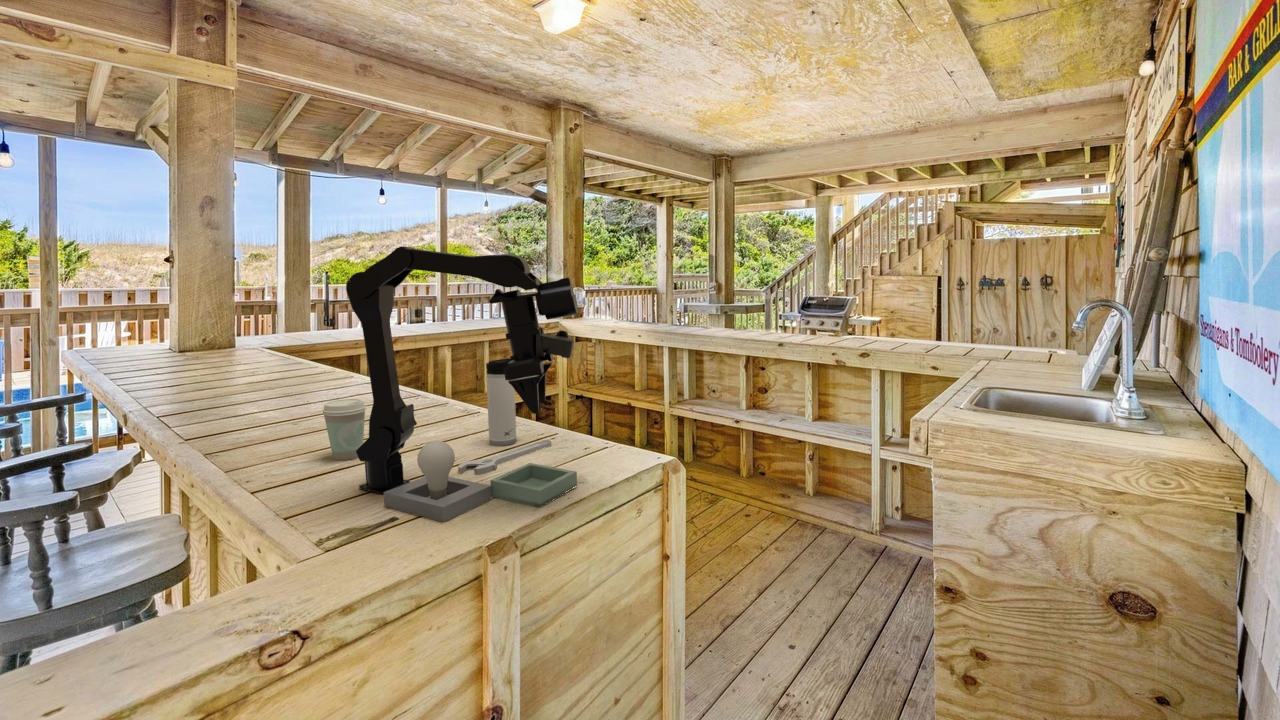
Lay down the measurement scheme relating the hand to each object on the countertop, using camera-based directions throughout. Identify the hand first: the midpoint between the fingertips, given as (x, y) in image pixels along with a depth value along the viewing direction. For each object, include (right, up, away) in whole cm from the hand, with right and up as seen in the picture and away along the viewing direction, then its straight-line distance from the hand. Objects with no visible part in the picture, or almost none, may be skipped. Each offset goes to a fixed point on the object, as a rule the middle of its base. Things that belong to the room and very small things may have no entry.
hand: (539, 407), depth 109 cm
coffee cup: (-45, -12, +20) cm, 51 cm away
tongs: (-25, -19, -17) cm, 36 cm away
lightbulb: (-16, -16, -6) cm, 24 cm away
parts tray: (-1, -15, -1) cm, 15 cm away
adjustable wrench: (-9, -13, +18) cm, 24 cm away
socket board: (-16, -16, -6) cm, 24 cm away
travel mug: (-14, -11, +31) cm, 35 cm away
